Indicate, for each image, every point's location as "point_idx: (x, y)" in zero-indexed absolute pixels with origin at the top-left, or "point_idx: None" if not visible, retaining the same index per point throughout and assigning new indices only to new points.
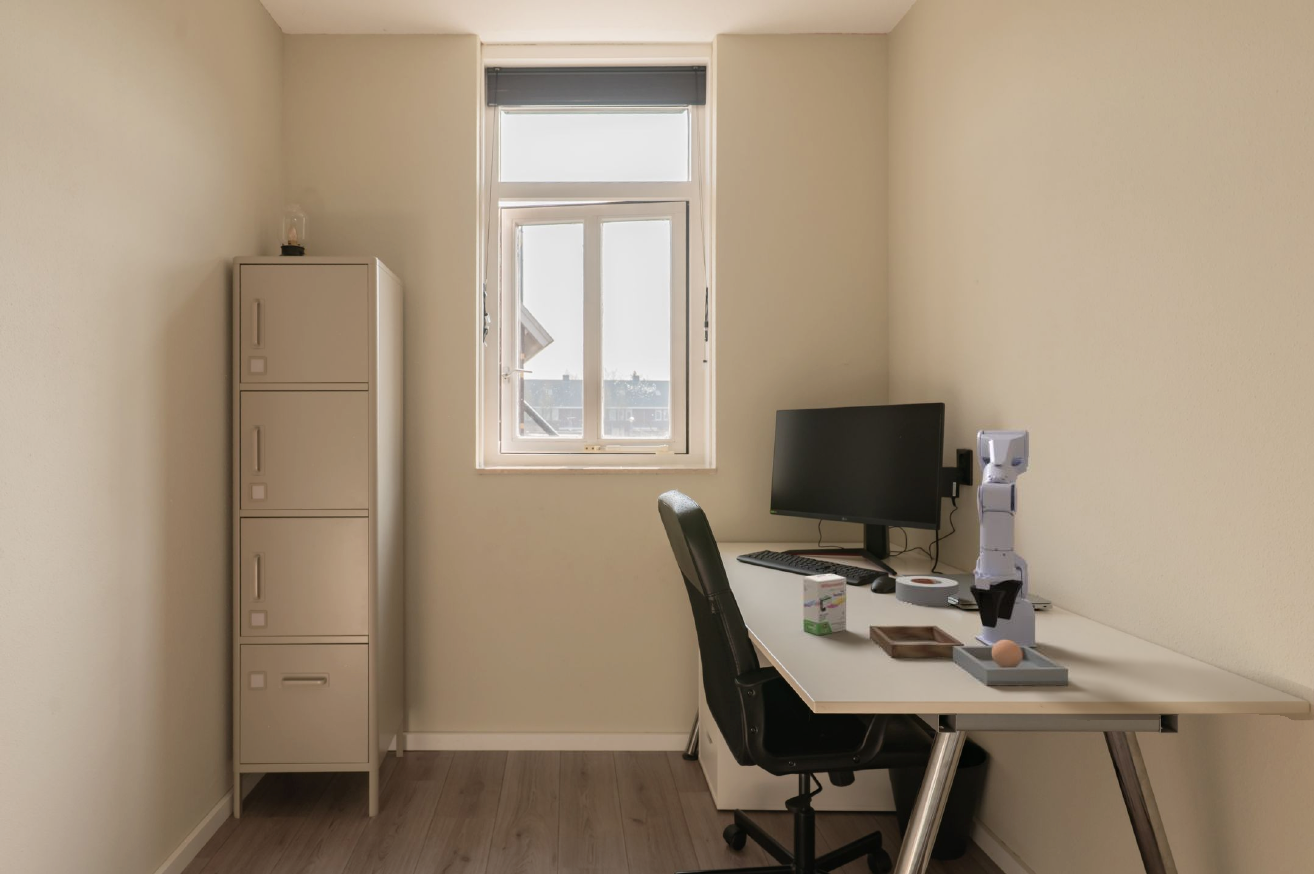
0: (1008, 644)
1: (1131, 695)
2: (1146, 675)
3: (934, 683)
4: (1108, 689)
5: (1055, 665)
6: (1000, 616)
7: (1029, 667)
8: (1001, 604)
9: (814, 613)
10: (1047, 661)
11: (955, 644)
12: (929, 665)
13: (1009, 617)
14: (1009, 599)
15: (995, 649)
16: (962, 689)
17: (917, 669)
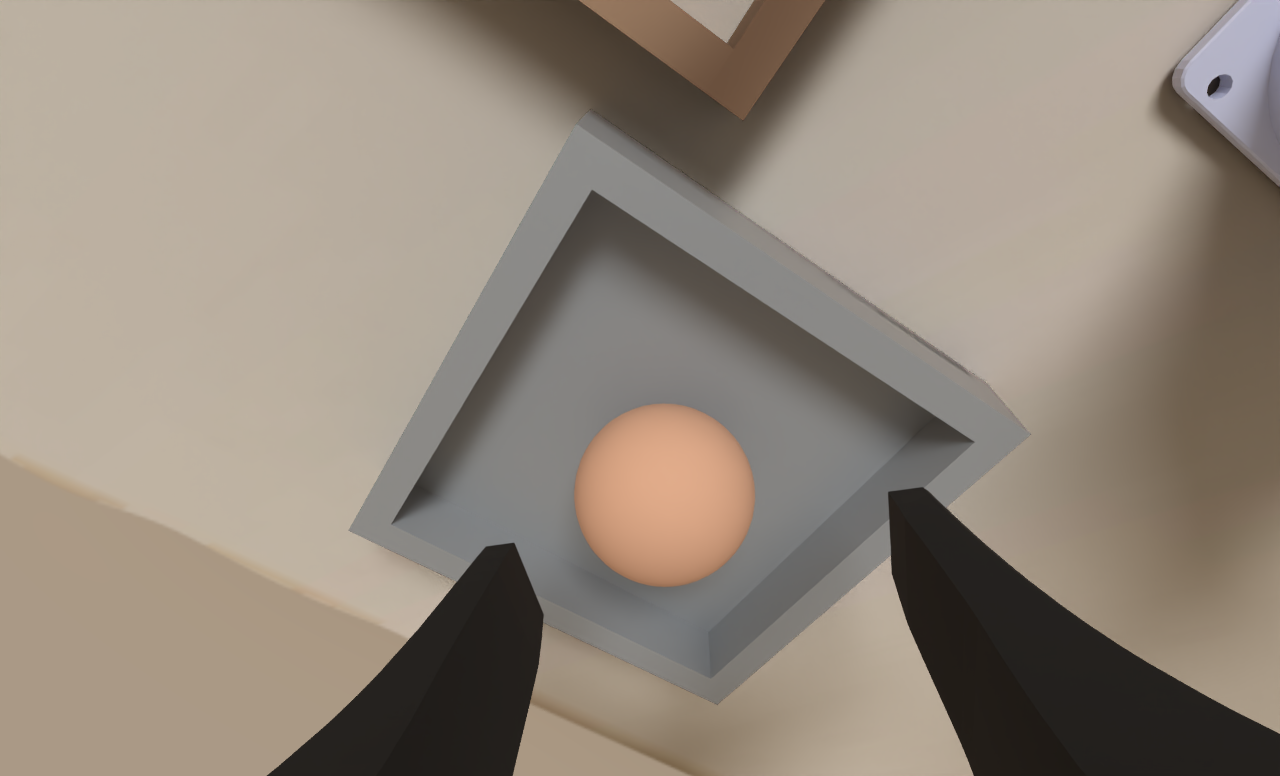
0: (621, 571)
1: (788, 767)
2: None
3: (148, 317)
4: (795, 719)
5: (731, 659)
6: (894, 524)
7: (582, 618)
8: (950, 633)
9: None
10: (776, 615)
11: (681, 72)
12: (351, 75)
13: (899, 593)
14: (986, 765)
15: (582, 486)
16: (234, 440)
17: (207, 86)
